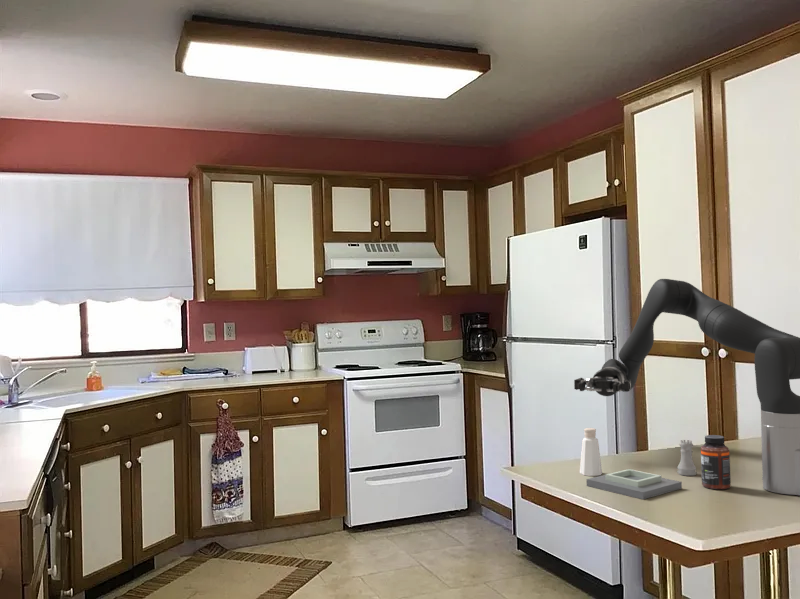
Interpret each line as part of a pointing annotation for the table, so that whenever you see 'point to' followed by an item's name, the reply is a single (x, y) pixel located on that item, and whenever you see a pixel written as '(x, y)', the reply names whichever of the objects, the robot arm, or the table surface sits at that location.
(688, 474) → the rook chess piece
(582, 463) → the pepper shaker
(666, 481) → the baseplate
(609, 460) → the table surface
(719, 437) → the supplement bottle
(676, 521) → the table surface
